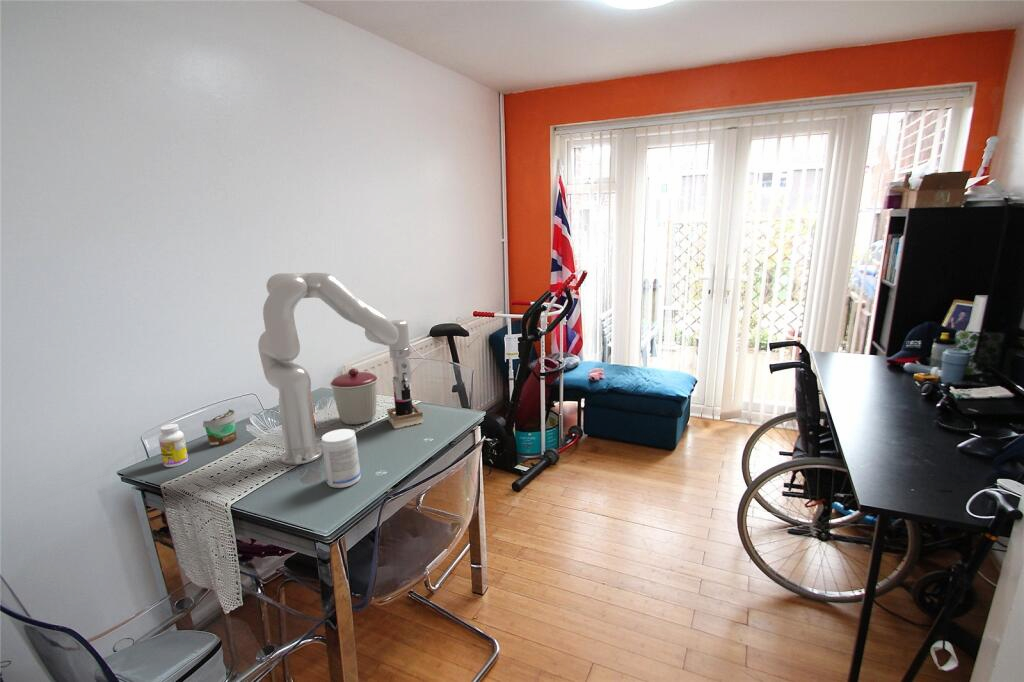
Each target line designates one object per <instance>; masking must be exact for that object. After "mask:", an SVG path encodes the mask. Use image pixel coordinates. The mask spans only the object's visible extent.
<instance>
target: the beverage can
mask: <svg viewBox="0 0 1024 682" xmlns="http://www.w3.org/2000/svg"><path fill="white" fill-rule="evenodd" d="M402 382H405V381H402ZM411 383H412V382H411ZM411 383H410V382H409V385H410V395H411V399H408V400H402V393H401V390H402V387H401V384H399V383H398V379H396V378H395V376H394V375H393V377H392V386H393V398H394V399H393V400H394V408H395V412H396V415H397V416H403V415H408V414H412V413H413V407H412V405H413V396H412V385H411ZM403 386H404V384H403Z"/></svg>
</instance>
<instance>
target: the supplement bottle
mask: <svg viewBox="0 0 1024 682" xmlns="http://www.w3.org/2000/svg"><path fill="white" fill-rule="evenodd" d="M160 433H161V435H159V436H158V442H159V446H160V447H159V449H160V452H161V457H162V463H163V466H164V467H167V468H175V467H178V466H181V465H184V464H186V463H187V462H188V460H189V454H188V450H187V444H186V439H185V434H184V432H183V431H181V430H180V427H179V424H178V423H169V424H165V425H163V426H161V427H160Z"/></svg>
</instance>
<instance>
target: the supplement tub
mask: <svg viewBox="0 0 1024 682" xmlns="http://www.w3.org/2000/svg"><path fill="white" fill-rule="evenodd" d="M356 436H357V435H356V432H355V430H353V429H349V428H340V429H334V430H330V431H328V432H326V433H325V434H322V436H321V438H320V439H321V448H322V456H323V463H324V464H323V465H324V470H325V479H326V483H327V485H328V486H329V487H331V488H336V489H341V488H342V489H343V488H347V487H348V488H349V487H351V486H353V485H354V484H356V483H357V482H358V481H359V480H360V479H361V476H362V475H361V467H360V466H361V465H360V459H359V450H358V444H357V443H358V442H357V437H356Z"/></svg>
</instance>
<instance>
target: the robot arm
mask: <svg viewBox="0 0 1024 682" xmlns="http://www.w3.org/2000/svg"><path fill="white" fill-rule="evenodd" d="M266 291H267V292H268V296H267V298H266V299H265V301H264V303H263V304H264V305H263V308H262V316H263V322H264V329H265V331H263V332H262V334H261V335H260V336H259V339H258V345H257V346H258V347H257V348H258V352H259V357H260V361H261V365H262V369H263V373H264V378H265V380H266V381H267V382H268V384H269V385H270V386H272V387H273V388H275V389H276V390H277V391H278V411H279V412H278V413H279V417H280V425H281V429H282V430H281V431H282V438H283V439H282V440H283V444H284V451H285V452H283V453H282V454H281V455H280V456H281V457H280V460H281V463H283V464H285V465H290V466H291V465H292V466H293V465H294V466H297V465H302V464H308V463H311V462H314V461H315V460H317V459H318V458H320V457H321V456H323V451H322V446H319V445H317V439H316V431H315V422H314V415H313V408H312V399H311V398H312V397H311V396H312V395H311V389H312V387H311V386H312V381H311V376H310V374H309V372H308V370H307V369H306V368H304V367H303V366H302V365H299V364H297V363H294V360H295V359H297V357H298V356H299V355H300V352H301V343H300V340H299V337H298V336H299V335H298V331H297V327H296V322H295V310H296V307H297V305H298V303H300V301H301V300H302V299H309V298H316V299H320V300H321V301H322V302H324V303H325V304H326V305H327V306H328V307H329V308H331V309H332V310H334V312H336V313H337V315H339V316H340V317H341V318H343V319H344V320H346V321H347V322H350V323H352V324H354V325H357V326H359V327H361V328H363V329H364V336H365V338H366V339H367V340H368V341H370V342H372V343H374V344H379V345H383V346H387V347H388V348H389V349H388V350H389V358H390V359H391V360H392V373H393V374H392V375H393V377H394V376H395V378H396V379H398V383H399V384H401V387H402V390H401V393H402V400H408V399H411V395H412V394H411V395H410V385H409V382H410V383H412V381H413V379H412V370H411V362H410V358H411V357H410V356H411V349H410V348H411V347H410V337H409V335H410V334H409V323H408V322H407V320H404V319H394V320H389V319H388V318H387V317H386V316H384V315H383V314H381V312H379V311H378V310H377V309H375V308H373V307H372V306H370V305H369V304H367V303H366V302H365V301H363V300H361V299H360V298H359V297H358V296H357V295H356V294H355V293H354V292H353V291H352V290H350V289H349V288H348V287H347V286H346V285H345V284H344V283H343V282H342V281H340V280H339V279H338V278H337V277H335V276H334V275H332V274H330V273H324V272H303V273H302V272H301V273H297V272H296V273H294V272H293V273H288V272H287V273H285V272H284V273H283V272H281V273H279V272H278V273H275V274H273V275H271V276H270V277H269V278H268V279H267V282H266ZM402 381H405V382H402ZM403 384H404V386H403Z"/></svg>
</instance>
